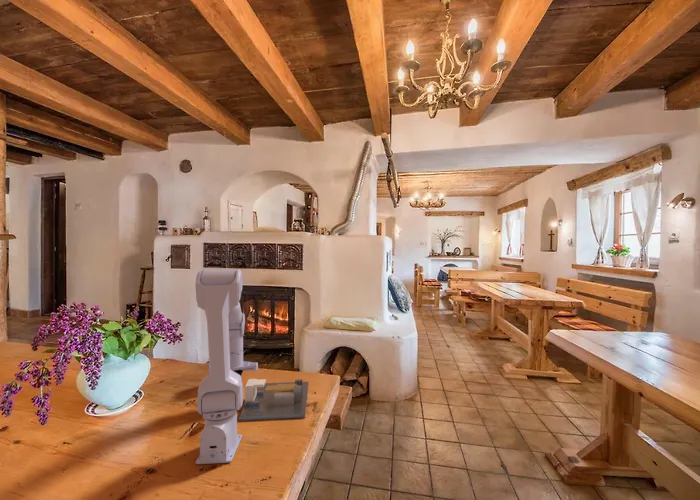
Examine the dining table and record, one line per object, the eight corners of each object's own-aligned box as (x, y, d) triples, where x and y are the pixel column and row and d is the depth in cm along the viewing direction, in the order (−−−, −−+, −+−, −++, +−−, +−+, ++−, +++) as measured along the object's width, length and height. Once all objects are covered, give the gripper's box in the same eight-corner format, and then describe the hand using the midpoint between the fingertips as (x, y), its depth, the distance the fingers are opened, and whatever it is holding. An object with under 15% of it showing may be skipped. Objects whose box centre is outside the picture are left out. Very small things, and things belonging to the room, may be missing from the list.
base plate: (304, 417, 85) (304, 397, 85) (238, 420, 84) (238, 400, 84) (308, 384, 105) (308, 368, 105) (255, 387, 104) (255, 370, 104)
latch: (263, 402, 91) (263, 385, 91) (245, 403, 90) (245, 386, 90) (266, 394, 96) (266, 378, 95) (249, 395, 95) (249, 379, 95)
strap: (299, 390, 93) (299, 386, 93) (265, 392, 92) (265, 389, 92) (300, 385, 95) (300, 382, 95) (267, 388, 95) (267, 385, 95)
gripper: (259, 345, 97) (260, 386, 97) (214, 346, 95) (214, 388, 96) (254, 353, 90) (255, 397, 90) (205, 354, 88) (205, 399, 89)
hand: (233, 393), depth 92 cm, fingers closed
